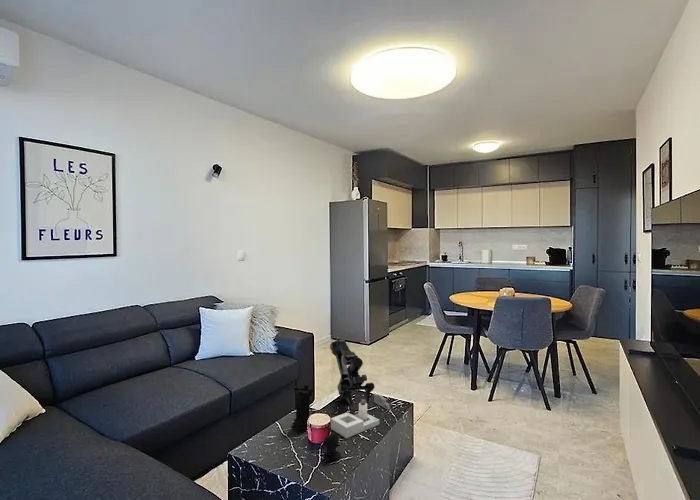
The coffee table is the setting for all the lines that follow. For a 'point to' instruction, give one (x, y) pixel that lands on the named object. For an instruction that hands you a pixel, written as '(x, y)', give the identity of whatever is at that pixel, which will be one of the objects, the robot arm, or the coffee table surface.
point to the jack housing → (352, 424)
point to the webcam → (331, 447)
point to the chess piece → (302, 408)
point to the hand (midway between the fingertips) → (359, 404)
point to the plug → (363, 410)
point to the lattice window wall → (383, 401)
